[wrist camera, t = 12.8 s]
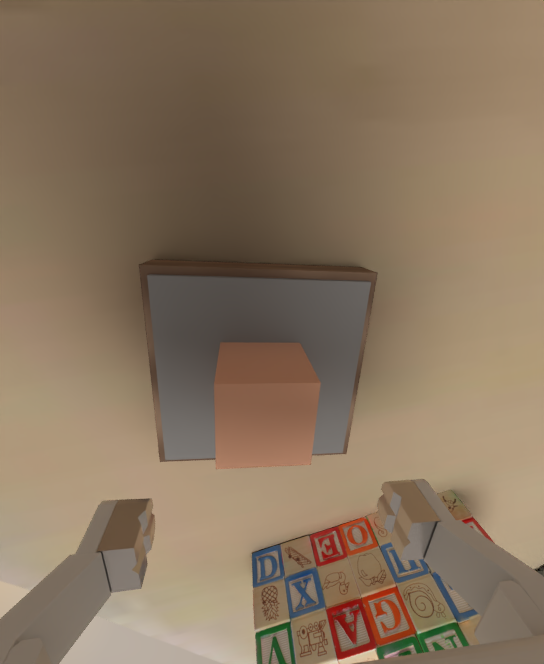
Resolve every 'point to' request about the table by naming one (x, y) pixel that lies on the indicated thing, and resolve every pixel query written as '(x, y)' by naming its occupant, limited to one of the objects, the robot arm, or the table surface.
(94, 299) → the table surface
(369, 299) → the walnut framed mirror
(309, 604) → the stack of blocks
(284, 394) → the terracotta cube
